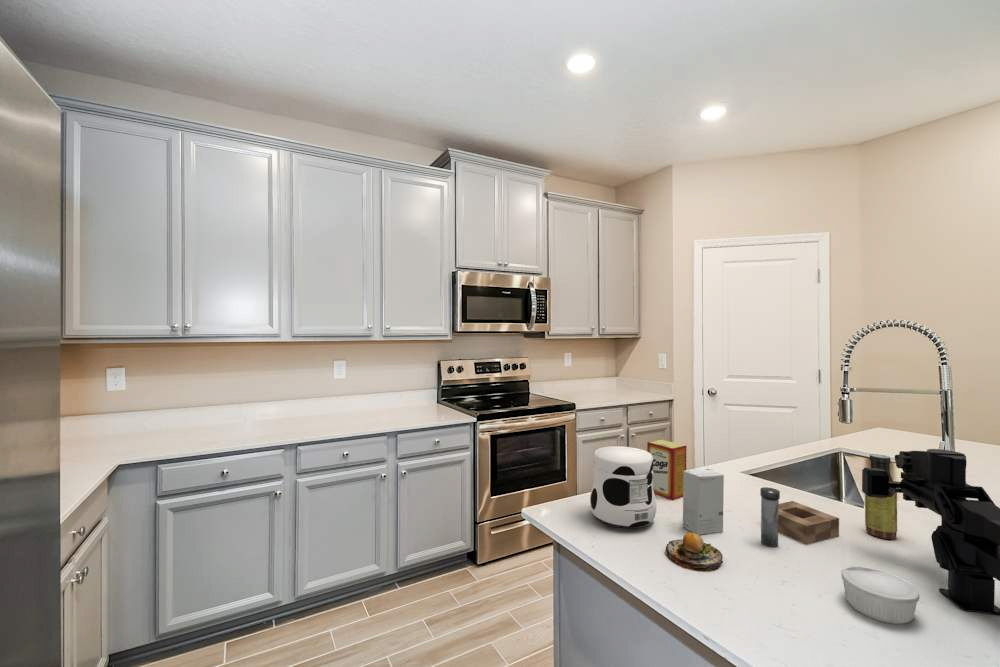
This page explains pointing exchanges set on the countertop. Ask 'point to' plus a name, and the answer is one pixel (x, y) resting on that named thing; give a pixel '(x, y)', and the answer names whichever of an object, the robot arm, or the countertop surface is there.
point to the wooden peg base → (806, 523)
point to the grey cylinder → (769, 516)
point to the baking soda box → (668, 468)
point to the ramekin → (880, 594)
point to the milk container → (623, 487)
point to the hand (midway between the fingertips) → (889, 473)
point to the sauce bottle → (881, 506)
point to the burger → (694, 553)
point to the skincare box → (703, 501)
